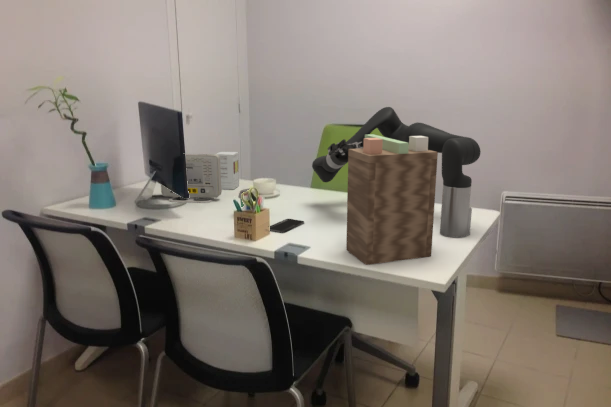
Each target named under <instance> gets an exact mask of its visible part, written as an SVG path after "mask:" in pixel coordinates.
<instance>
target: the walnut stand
mask: <svg viewBox="0 0 611 407" xmlns="http://www.w3.org/2000/svg"><path fill="white" fill-rule="evenodd" d="M438 154H439V153H438V152H436V151H432V150H428V151H412V150H409V148H408V153H407V154H397V153H394V152H390V151H387V150H383V149H382V153H381V154H368V153H364V152H363V148H359V149H348V163H347V194H346V195H347V199H346V200H347V202H346V203H347V205H346V239H345V240H346V244H345V245H346V247H345V248H346V249H345V250H346V251H347V252H348V253H349V254H350V255H352V256H353V257H354V258H356V259H357V260H359V261H360V262H361V263H363V264H364V265H365V266H369V265H376V264H385V263H392V262H398V261H399V262H401V261H406V260H412V259H415V260H416V259H420V258H421V259H422V258H429V257H432V252H433V251H432V250H433V249H432V248H433V233H434V219H435V218H434V217H435V204H436V203H435V202H436V185H437V170H438Z"/></svg>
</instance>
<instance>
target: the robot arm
mask: <svg viewBox="0 0 611 407" xmlns="http://www.w3.org/2000/svg"><path fill="white" fill-rule="evenodd" d="M376 129H377V130H378V131H379V133H380V134H381V136H382V137H386V138H390V139H395V140H399V141H403V142H407V143H409V136H425V137H428V150H432V151H436V152H438V154H439V153H440V154H441V178H442V195H441V196H442V197H441V211H440V222H439V223H440V226H439V233H440V235H442V236H444V237H448V238H449V237H450V238H465V237H467V236H469V235H471V227H472V226H471V225H472V215H473V211H472V210H473V208H472V207H470V206H471V193H472V177H471V176H468V175H466V174H464V172H463V166H469V165H472V164H473V163H476V162H477V161H478V160H479V158H480V156H481V147H480V145H479V143H478V142H477V141H476V140H475V139H473V138H472V137H467V136H462V135H456V134H452V133H450V132H447V131H445V130H443V129H440V128H437V127H435V126H432V125H429V124H426V123H423V122H413V123H412V124H410V125H407V124H404V123H403V122H402V121H401V119H400V117H399V116H398V113H396V111H395V110H394V108H393V107H391V106H386V107H383V108H380V109H379V110H378V111H377V112H376V113H375V114H373V115H372V116H371V117H370V118H369V119H368V120H367V121H366V122H365V123H364V124H363V125H362V126H361V127H360V128H359V129H358V130H357V132H355V133H354V134H353V135H352V136H351V137H350V138H349V139H347V140H346V139H345V138H344V139H342V140H341V141H338V142H336V143H331V144H330V145H329V146H328V148H327V151H328V152H327V154H326V155H322V156H319V157H317V158H315V159H314V160H313V161H312V164H311V167H312V170H313V172H315V174H316V175H317V176H318V178H319V179H320V180H321V181H322V182H323V183H329V182H331V181H332V180H333V179H334V178H335V177H336V176H337V174H338V173H339V171H340V170H341V169H342V168H344V166H345V165H346V164H348V149H359V148H363V145H364V138H365V135H368V134H372V132H373V131H375V130H376Z"/></svg>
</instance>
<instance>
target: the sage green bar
mask: <svg viewBox="0 0 611 407" xmlns="http://www.w3.org/2000/svg"><path fill="white" fill-rule="evenodd" d="M365 138H379V139H383V145H382V149H383V150H387V151H390V152H394V153H397V154H407V153H408V148H409V143H407V142H403V141H399V140H395V139H390V138H386V137H384V136H383V135H377V134H372V133H370V134H368V135H365Z"/></svg>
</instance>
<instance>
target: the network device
mask: <svg viewBox="0 0 611 407" xmlns="http://www.w3.org/2000/svg"><path fill="white" fill-rule="evenodd" d="M184 154H185V155H186V168H187V181H188V191H189V195H190V198H189V199H188V198H187V199H188V200H187V199H186V200H179V199H182V198H181V197H180V196H179V195H177V194H175V193H173V192H172V191H170V190H169V189H167V188H166V187H164V186H163V185H161V184H160V190H161V195H162V196H163V197H171V198H169V199H168V201H169V203H184V202H186V203H189V204H190V203H192V204H198V203H199V204H209V203H212V202H213V201H214V200H215V199H216V198H219V197H220V196H221V195H222V189H221V165H220V156H219V155H217V153H184ZM178 197H180V198H178ZM173 199H174V200H173ZM177 199H178V200H177ZM199 199H200V200H199ZM201 199H205V200H201ZM207 199H208V200H207ZM186 203H185V204H186Z"/></svg>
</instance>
